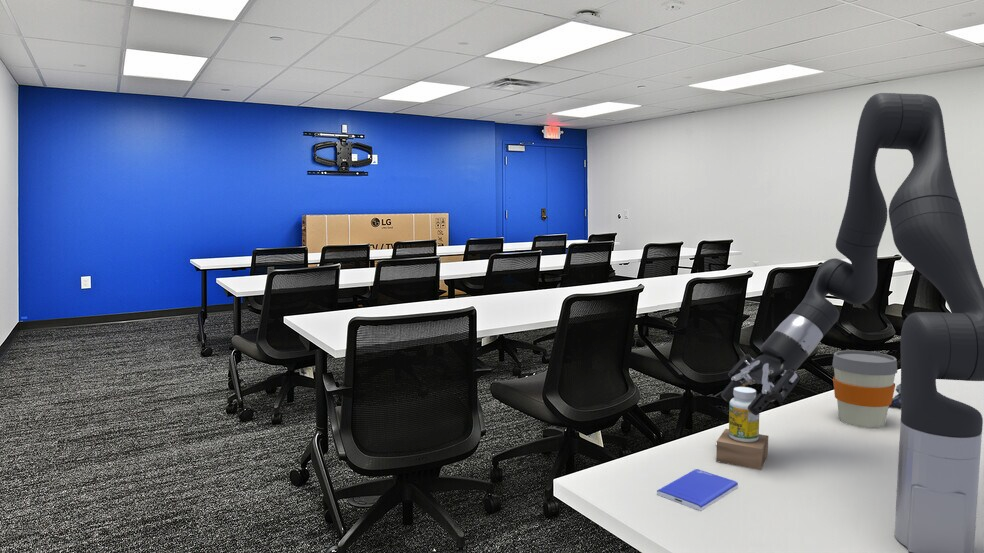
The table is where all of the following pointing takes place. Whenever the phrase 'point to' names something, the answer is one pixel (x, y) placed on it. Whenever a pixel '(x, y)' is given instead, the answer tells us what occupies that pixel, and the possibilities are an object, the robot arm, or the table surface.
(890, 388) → the reusable coffee cup
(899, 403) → the snack package
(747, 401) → the supplement bottle
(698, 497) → the hard drive
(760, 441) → the walnut base block
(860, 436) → the table surface
